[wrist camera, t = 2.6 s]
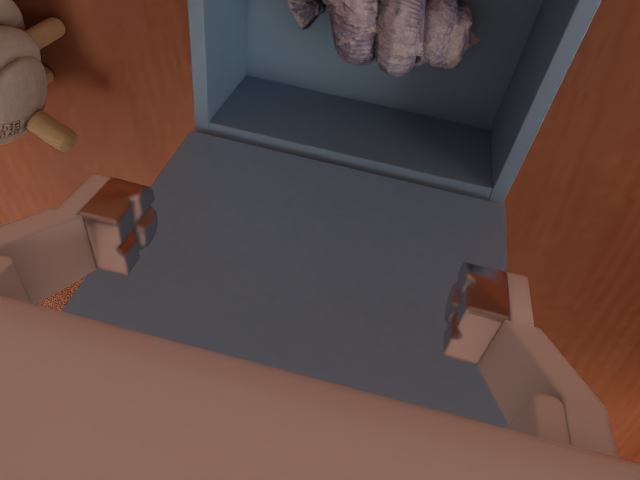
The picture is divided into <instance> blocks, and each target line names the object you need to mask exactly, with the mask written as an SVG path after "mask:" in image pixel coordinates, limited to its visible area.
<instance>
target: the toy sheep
mask: <svg viewBox="0 0 640 480" xmlns="http://www.w3.org/2000/svg"><path fill="white" fill-rule="evenodd" d="M64 34H65V26H64V24H63V23H62V22H61V20H59V19H58V18H55V17H49V18H47V19H45V20H43V21H42V22H40V23H38V24H36V25H34V26H32V27H31V28H29V29H27V30H25V25H24V21H23V16H22V14H21V12H20V10H19V8H18V7H17V5H16V4H15V3H14V1H13V0H0V145H4V144H7V143H9V142H12V141H14V140H16V139H18V138H19V137H21V136H23V135H24V134H25V133H26V132H28V131H30V132H31V133H33V134H34V135H36V136H38V137H39V138H41V139H42V140H44V141H45V142H47V143H48V144H50V145H51V146H53V147H54V148H56V149H57V150H59V151H68V150H70V149H71V148H72V147H73V146H74V144H75V143H76V141H77V135H76V133H75V132H74V131H73V130H72V129H70V128H68V127H67V126H65V125H64V124H62V123H60V122H59V121H57V120H56V119H54V118H53V117H51V116H50V115H48V114H47V113H45V112H43V110H44V107H45V103H46V97H47V85H48V84H50V83H51V82H52V81H53V78H54V77H53V73H52V71H51V70H50V69H48V68H47V67H44V66H43V65H42V63H41V56H40V49H42V48H43V47H45V46H47V45H48V44H50V43H52V42H53V41H55V40H57V39H59V38H60V37H62V36H63V35H64Z"/></svg>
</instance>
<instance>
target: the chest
mask: <svg viewBox="0 0 640 480" xmlns="http://www.w3.org/2000/svg"><path fill="white" fill-rule="evenodd" d="M460 1H465V2H467V3H468V4H469V5H470V6H471V10H472V14H473V24H472V27H473V28H474V31H475V35H476V36H477V37H478V38H479V39H480V41H479V43H478V44H477V45H475V46H473V47H471V48H469V49H467V50H466V51H465V53H464V54H463V56H462V60H461V61H460V63H459V64H458V65H457V66H456V67H455V68H453V69H445V68H443V67H440V68H438V69H437V68H435V67H433V66H431V65H430V64H429V63H427V64H424V65H422V66H420V67H415V68H414V70H413V71H412V72H411V73H410V74H408V75H405V76H402V77H392V76H389V75H388V74H386V73H384V72H383V71H381V70H380V68H379V66H378V63H377V62H376V60H375V59H374V60H373V62H371V63H370V64H369V65H363V66H353V65H350V64H348V63H346V62H344V61H342V60H341V59H340V58H339V56H338V54H337V51H336V49H335V45H334V39H333V32H332V27H331V22H330V16H329V14H328V12H327V11H326V10H325V12H324V13H321V14H320V15H319V16H318V17H317V18H316V20H315V21H314V22H313V24H312V25H311V26H310V27H309V28H308V29H305V30H301V29H299V27H298V26H297V23H296V21H295V18H294V16H293V14H292V12H291V11H290V9H289V6H288V3H287V0H187V4H188V20H189V36H190V52H191V68H192V84H193V100H194V116H195V131H196V132H199V133H203V134H209V135H211V136H215V137H220V138H224V139H228V140H232V141H236V142H241V143H245V144H249V145H253V146H258V147H262V148H266V149H270V150H275V151H279V152H283V153H287V154H291V155H296V156H300V157H304V158H308V159H313V160H317V161H321V162H325V163H330V164H334V165H338V166H342V167H346V168H351V169H355V170H359V171H363V172H368V173H372V174H376V175H380V176H385V177H389V178H393V179H397V180H402V181H406V182H410V183H414V184H418V185H423V186H427V187H431V188H435V189H440V190H444V191H448V192H452V193H457V194H461V195H465V196H469V197H473V198H478V199H482V200H486V201H487V200H488V201H490V202H495V203H499V204H503V203H504V201H505V199H506V197H507V195H508V192H509V190H510V188H511V186H512V184H513V182H514V180H515V178H516V176H517V174H518V172H519V170H520V168H521V166H522V164H523V162H524V159H525V157H526V155H527V153H528V151H529V149H530V147H531V145H532V143H533V141H534V139H535V137H536V135H537V133H538V131H539V129H540V126H541V124H542V122H543V120H544V118H545V116H546V114H547V112H548V110H549V108H550V106H551V104H552V102H553V100H554V98H555V96H556V93H557V91H558V89H559V87H560V85H561V83H562V81H563V79H564V77H565V75H566V73H567V71H568V69H569V67H570V65H571V63H572V60H573V58H574V56H575V54H576V52H577V50H578V48H579V46H580V44H581V42H582V40H583V38H584V36H585V34H586V32H587V30H588V27H589V25H590V23H591V21H592V19H593V17H594V15H595V13H596V11H597V9H598V7H599V5H600V3H601V1H602V0H460Z"/></svg>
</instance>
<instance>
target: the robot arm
mask: <svg viewBox="0 0 640 480" xmlns="http://www.w3.org/2000/svg"><path fill="white" fill-rule="evenodd" d="M154 200H155V198H154V192H153V189H151V188H150V187H148V186H144V185H140V184H136V183H133V182H129V181H125V180H121V179H117V178H112V177H108V176H105V175H101V174H97V173H96V174H93V175H91V176H90V177H89V178H88V179H87V180H86V181H85V182H84V183H83V184H82V185H81V186H80V187H79V188H78V189H77V190H76V191H75V192H74V193H73V194H72V195H71V196H70V197H69V198H68V199H67V200H66V201H65V202H64V203H63V204H62V205H61V206H60V207H59V208H58V209H57V210H56V209H52V208H51V209H48V210H45V211H42V212H39V213H36V214H34V215H31V216H28V217H25V218H22V219H19V220H16V221H14V222H11V223H8V224H5V225H2V226H0V480H640V463H637V462H633V461H630V460H626V459H622V458H618V457H617V452H616V448H615V444H614V439H613V435H612V430H611V426H610V421H609V417H608V412H607V409H606V407H605V406H604V405H603V404H602V403H601V401H600V400H599V399H598V398H597V396H596V395H595V394H594V393H593V392H592V390H591V389H590V388H589V387H588V386H587V384H586V383H585V382H584V381H583V380H582V378H581V377H580V376H579V375H578V373H577V372H576V371H575V370H574V369H573V367H572V366H571V365H570V364H569V363H568V361H567V360H566V359H565V358H564V357H563V355H562V354H561V353H560V352H559V350H558V349H557V348H556V347H555V346H554V344H553V343H552V342H551V341H550V340H549V338H548V337H547V336H546V335H545V334H544V332H543V331H542V330H541V329H540V328H536V327H534V321H533V313H532V306H531V298H530V291H529V283H528V278H527V277H526V275H521V274H517V273H512V272H507V271H502V270H497V269H493V268H489V267H484V266H480V265H476V264H471V263H467V262H464V263H463V264H462V266H461V268H460V270H459V272H458V282H457V283H455V284H453V285H452V288H451V290H450V293H449V296H448V299H447V303H446V309H445V321H446V322H447V324H448V326H447V329H446V331H445V333H444V349H443V355H444V356H447V357H451V358H454V359H458V360H462V361H465V362H469V363H472V364H476V365H477V368H478V370H479V372H480V374H481V376H482V377H483V379H484V381H485V383H486V385H487V387H488V389H489V390H490V392H491V394H492V396H493V398H494V400H495V401H496V403H497V405H498V407H499V409H500V411H501V413H502V414H503V416H504V418H505V420H506V422H507V424H508V426H507V428H504V427H500V426H497V425H493V424H489V423H485V422H481V421H478V420H474V419H470V418H466V417H462V416H459V415H455V414H451V413H447V412H443V411H440V410H436V409H432V408H428V407H424V406H421V405H417V404H413V403H409V402H405V401H402V400H398V399H394V398H390V397H386V396H383V395H379V394H375V393H371V392H367V391H364V390H360V389H356V388H352V387H348V386H345V385H341V384H337V383H333V382H329V381H326V380H322V379H318V378H314V377H310V376H307V375H303V374H299V373H295V372H291V371H287V370H284V369H280V368H276V367H272V366H268V365H265V364H261V363H257V362H253V361H249V360H246V359H242V358H238V357H234V356H230V355H227V354H223V353H219V352H215V351H211V350H208V349H204V348H200V347H196V346H192V345H189V344H185V343H181V342H177V341H173V340H170V339H166V338H162V337H158V336H154V335H151V334H147V333H143V332H139V331H135V330H132V329H128V328H124V327H120V326H116V325H113V324H109V323H105V322H101V321H97V320H94V319H90V318H86V317H82V316H78V315H75V314H71V313H67V312H63V311H59V310H55V309H52V308H48V307H44V306H40V305H37V304H39V303H40V302H42V301H44V300H45V299H47V298H49V297H51V296H52V295H54V294H56V293H58V292H59V291H61V290H63V289H65V288H66V287H68V286H70V285H72V284H73V283H75V282H77V281H78V280H80V279H82V278H84V277H85V276H87V275H89V274H91V273H92V272H94V271H96V270H97V268H98V269H102V270H107V271H111V272H116V273H120V274H125V275H128V274H129V273H130V271H131V270H132V268H133V267H134V266H135V264H136V263H137V261H138V260H139V259H140V254H139V250H141V249H143V248H145V247H148V246H149V244H150V243H151V241H152V240H153V238H154V235H155V233H156V230H157V222H158V219H157V213H156V211H155V210H154V209H153V208H152V206H151V204H152V203H153V201H154Z"/></svg>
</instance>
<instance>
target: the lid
mask: <svg viewBox="0 0 640 480" xmlns="http://www.w3.org/2000/svg"><path fill="white" fill-rule="evenodd" d="M150 188H151V189H153V192H154V198H155V200H154V201H153V203H152V204H151V206H152V208H153V209H154V210H155V211H156V213H157V219H158V222H157V230H156V233H155V235H154V238H153V240H152V241H151V243H150V244H149V246H148V247H145V248H143V249H141V250H139V254H140V259H139V260H138V261H137V263H136V264H135V266H134V267H133V268H132V270H131V271H130V273H129V274H128V275H125V274H120V273H116V272H111V271H107V270H102V269H98V268H97V270H96V271H94V272H92V273H91V274H89V275H87V276H86V277H85V279H84V280H83V282H82V283H81V284H80V286H79V287H78V289H77V290H76V291H75V293H74V294H73V295H72V297H71V298H70V300H69V301H68V302H67V304H66V305H65V307H64V308H63V309H62V311H63V312H67V313H71V314H75V315H78V316H82V317H86V318H90V319H94V320H97V321H101V322H105V323H109V324H113V325H116V326H120V327H124V328H128V329H132V330H135V331H139V332H143V333H147V334H151V335H154V336H158V337H162V338H166V339H170V340H173V341H177V342H181V343H185V344H189V345H192V346H196V347H200V348H204V349H208V350H211V351H215V352H219V353H223V354H227V355H230V356H234V357H238V358H242V359H246V360H249V361H253V362H257V363H261V364H265V365H268V366H272V367H276V368H280V369H284V370H287V371H291V372H295V373H299V374H303V375H307V376H310V377H314V378H318V379H322V380H326V381H329V382H333V383H337V384H341V385H345V386H348V387H352V388H356V389H360V390H364V391H367V392H371V393H375V394H379V395H383V396H386V397H390V398H394V399H398V400H402V401H405V402H409V403H413V404H417V405H421V406H424V407H428V408H432V409H436V410H440V411H443V412H447V413H451V414H455V415H459V416H462V417H466V418H470V419H474V420H478V421H481V422H485V423H489V424H493V425H497V426H500V427H504V428H507V426H508V424H507V422H506V420H505V418H504V416H503V414H502V413H501V411H500V409H499V407H498V405H497V403H496V401H495V400H494V398H493V396H492V394H491V392H490V390H489V389H488V387H487V385H486V383H485V381H484V379H483V377H482V376H481V374H480V372H479V370H478V368H477V365H476V364H472V363H469V362H465V361H462V360H458V359H454V358H451V357H447V356H444V355H443V349H444V333H445V331H446V329H447V326H448V324H447V322H446V321H445V309H446V303H447V299H448V296H449V293H450V290H451V288H452V285H453V284H455V283H457V282H458V272H459V270H460V268H461V266H462V264H463V263H464V262H467V263H471V264H476V265H480V266H484V267H489V268H493V269H497V270H502V271H507V260H506V205H503V204H499V203H495V202H490V201H486V200H482V199H478V198H473V197H469V196H465V195H461V194H457V193H452V192H448V191H444V190H440V189H435V188H431V187H427V186H423V185H418V184H414V183H410V182H406V181H402V180H397V179H393V178H389V177H385V176H380V175H376V174H372V173H368V172H363V171H359V170H355V169H351V168H346V167H342V166H338V165H334V164H330V163H325V162H321V161H317V160H313V159H308V158H304V157H300V156H296V155H291V154H287V153H283V152H279V151H275V150H270V149H266V148H262V147H258V146H253V145H249V144H245V143H241V142H236V141H232V140H228V139H224V138H220V137H215V136H211V135H207V134H203V133H198V132H194V131H190V132H189V134H188V135H187V137H186V138H185V139H184V141H183V142H182V144H181V145H180V146H179V148H178V149H177V151H176V152H175V153H174V155H173V156H172V158H171V159H170V160H169V162H168V163H167V165H166V166H165V167H164V169H163V170H162V172H161V173H160V174H159V176H158V177H157V178H156V180H155V181H154V183H153V184H152V185H151V187H150Z"/></svg>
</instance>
